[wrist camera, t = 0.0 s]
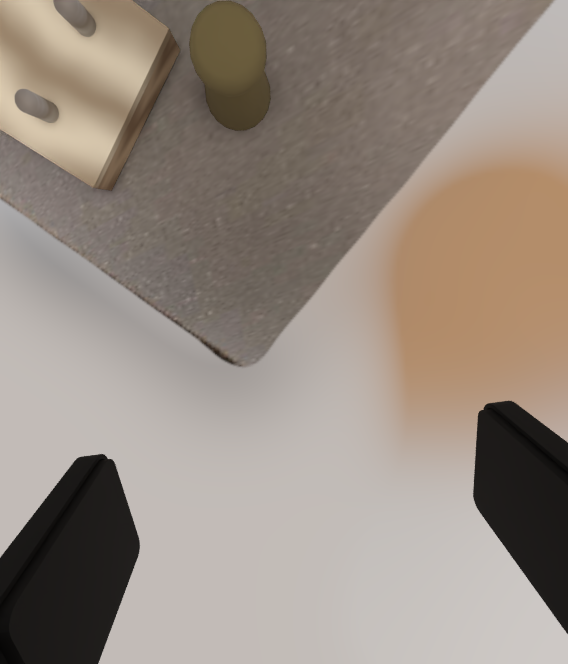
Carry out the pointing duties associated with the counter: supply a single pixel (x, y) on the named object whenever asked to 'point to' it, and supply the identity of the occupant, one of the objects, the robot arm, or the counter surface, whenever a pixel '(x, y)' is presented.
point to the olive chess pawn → (231, 64)
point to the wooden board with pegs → (81, 80)
